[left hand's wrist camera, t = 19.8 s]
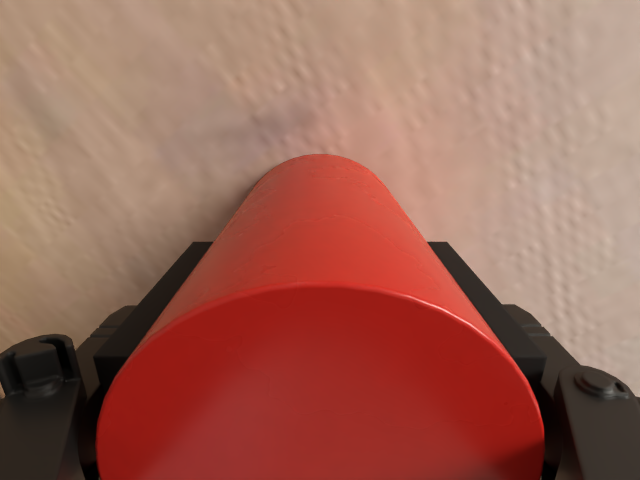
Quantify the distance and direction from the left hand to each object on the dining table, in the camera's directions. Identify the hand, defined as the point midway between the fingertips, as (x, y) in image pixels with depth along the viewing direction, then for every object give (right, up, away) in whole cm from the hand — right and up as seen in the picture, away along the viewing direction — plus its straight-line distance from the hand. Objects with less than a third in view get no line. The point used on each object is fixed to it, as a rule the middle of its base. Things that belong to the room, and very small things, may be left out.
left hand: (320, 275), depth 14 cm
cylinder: (0, +2, +4) cm, 5 cm away
